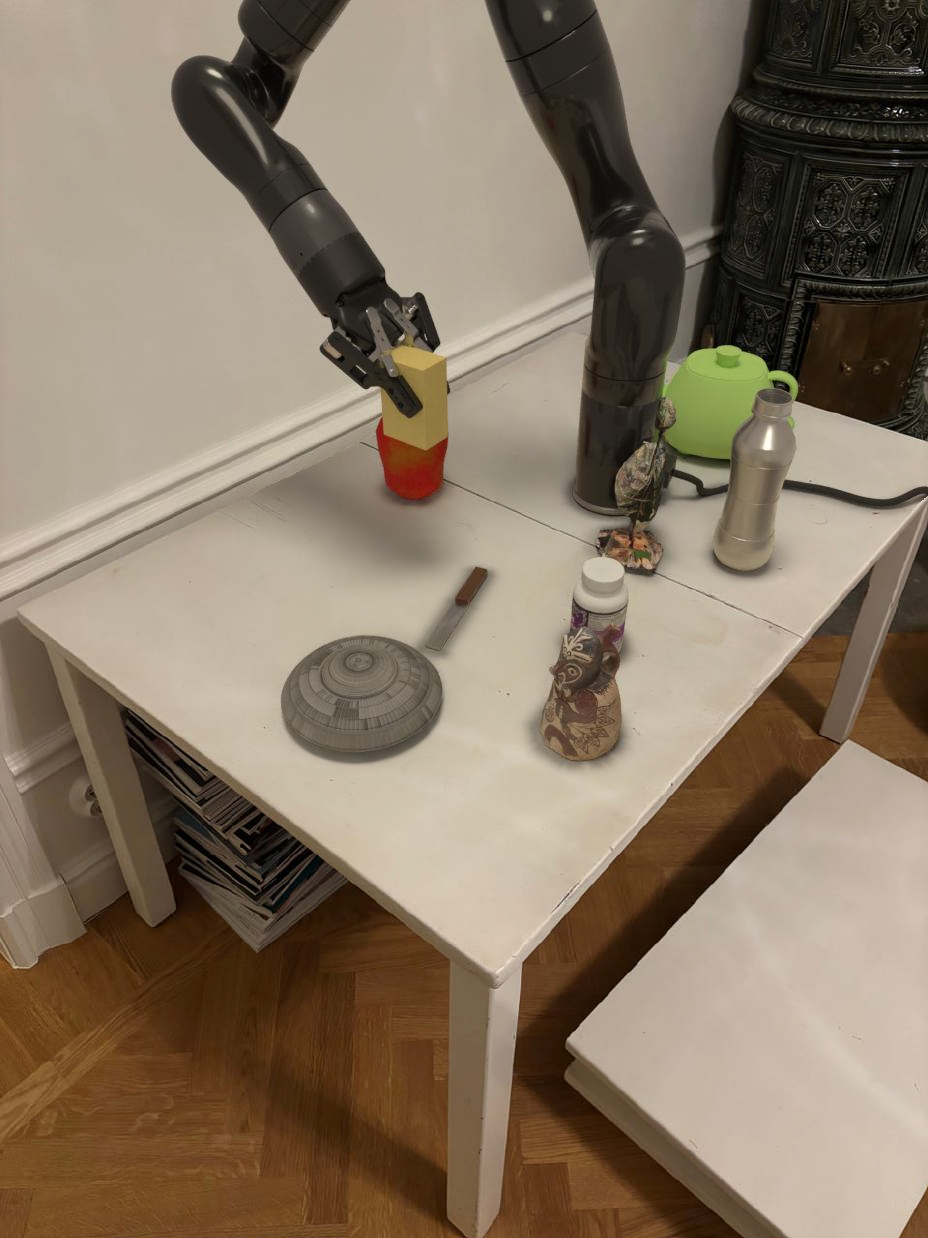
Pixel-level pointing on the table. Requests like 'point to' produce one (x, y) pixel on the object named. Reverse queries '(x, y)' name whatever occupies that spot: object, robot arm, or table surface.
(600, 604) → the pill bottle
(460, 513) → the table surface
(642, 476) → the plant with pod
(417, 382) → the butter portion
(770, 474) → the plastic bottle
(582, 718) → the figurine
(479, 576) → the butter knife
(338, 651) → the flying saucer
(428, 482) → the apple
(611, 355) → the robot arm
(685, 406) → the teapot
